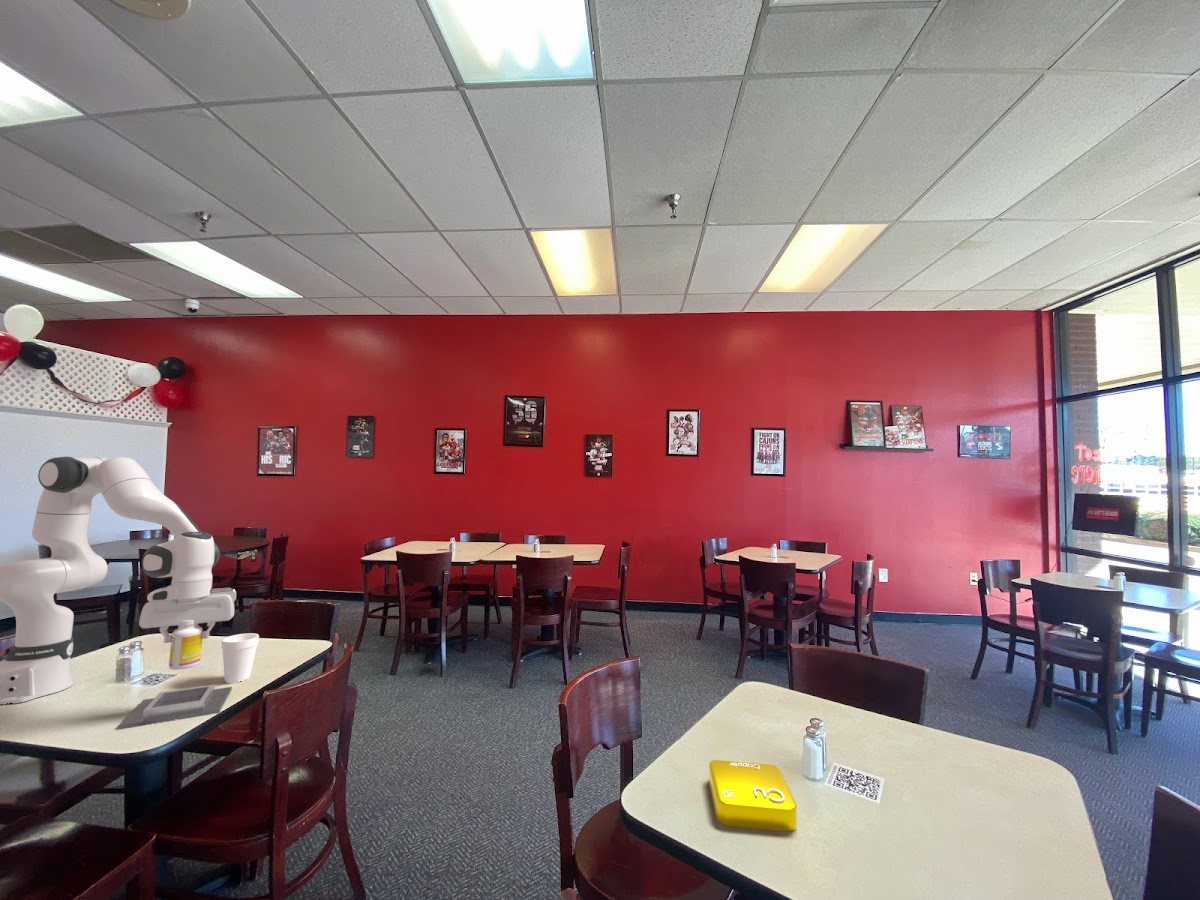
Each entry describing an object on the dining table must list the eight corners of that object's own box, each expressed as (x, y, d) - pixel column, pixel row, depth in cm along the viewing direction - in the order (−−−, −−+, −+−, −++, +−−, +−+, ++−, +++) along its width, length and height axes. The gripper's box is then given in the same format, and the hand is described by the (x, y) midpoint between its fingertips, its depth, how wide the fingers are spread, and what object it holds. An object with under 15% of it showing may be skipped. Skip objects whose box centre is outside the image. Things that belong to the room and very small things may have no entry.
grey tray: (119, 729, 118) (120, 716, 119) (143, 703, 132) (144, 692, 133) (219, 712, 128) (220, 701, 128) (231, 690, 142) (232, 679, 142)
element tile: (778, 784, 102) (777, 761, 102) (800, 834, 87) (799, 807, 87) (707, 778, 103) (707, 756, 104) (717, 827, 88) (717, 800, 89)
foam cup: (216, 687, 143) (220, 644, 144) (220, 677, 151) (223, 636, 152) (254, 681, 149) (258, 639, 150) (256, 671, 156) (259, 631, 157)
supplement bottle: (206, 662, 134) (210, 616, 136) (186, 670, 128) (191, 622, 129) (182, 661, 134) (186, 615, 135) (161, 670, 128) (166, 622, 129)
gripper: (239, 584, 141) (235, 632, 139) (148, 590, 131) (143, 641, 130) (234, 589, 135) (230, 638, 134) (139, 595, 125) (134, 648, 124)
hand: (186, 640), depth 132 cm, fingers closed on supplement bottle, 7 cm apart
